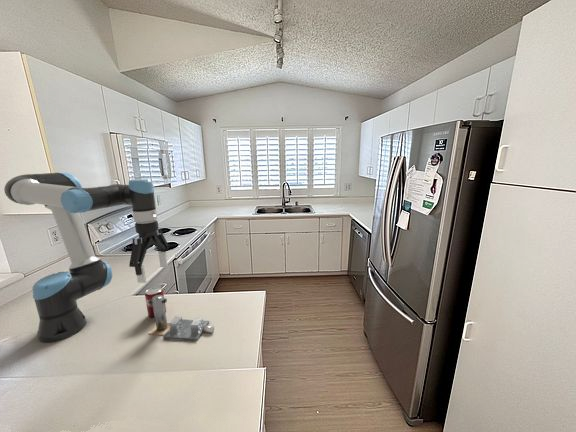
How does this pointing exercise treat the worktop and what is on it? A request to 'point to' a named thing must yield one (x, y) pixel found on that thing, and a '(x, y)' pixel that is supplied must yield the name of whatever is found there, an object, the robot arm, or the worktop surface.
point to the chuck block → (187, 329)
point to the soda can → (149, 295)
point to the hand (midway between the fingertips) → (153, 274)
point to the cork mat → (155, 332)
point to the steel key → (159, 312)
